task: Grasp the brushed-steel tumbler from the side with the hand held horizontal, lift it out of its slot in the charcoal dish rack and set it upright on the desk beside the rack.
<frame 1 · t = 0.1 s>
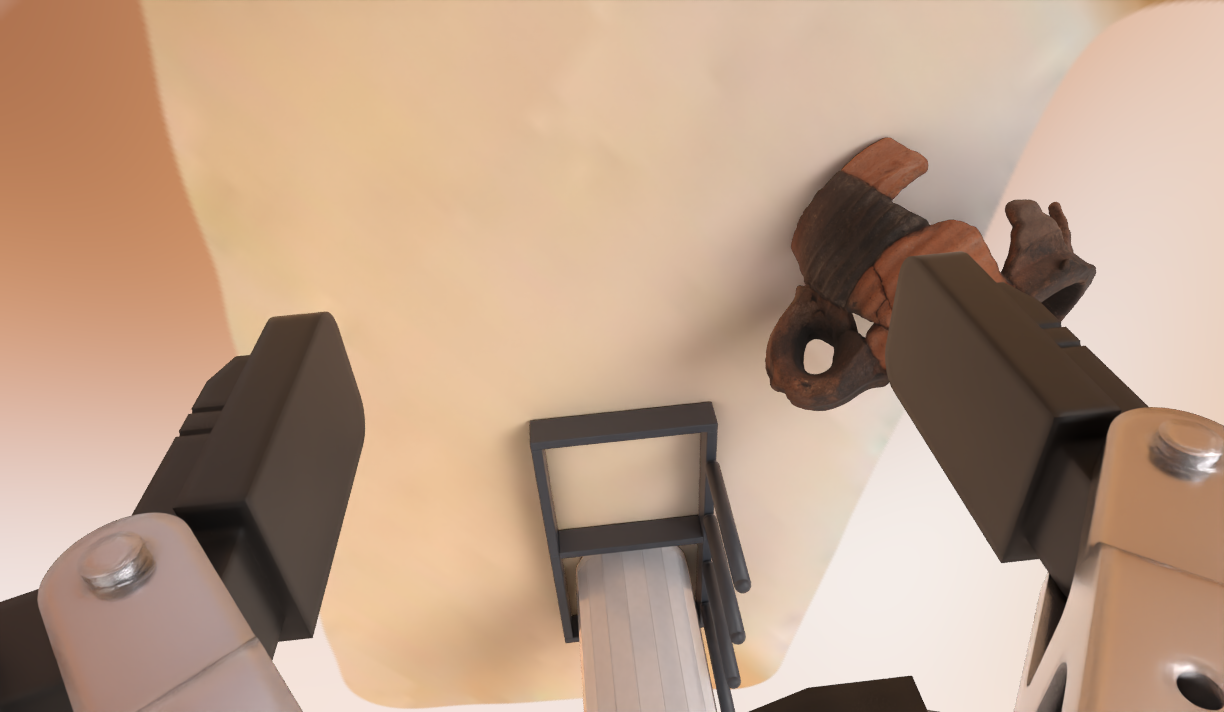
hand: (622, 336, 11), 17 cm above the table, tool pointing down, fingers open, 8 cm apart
dish rack: (628, 525, 41), on the table
tumbler: (631, 569, 44), resting in dish rack
pottery mug: (876, 250, 32), on the table
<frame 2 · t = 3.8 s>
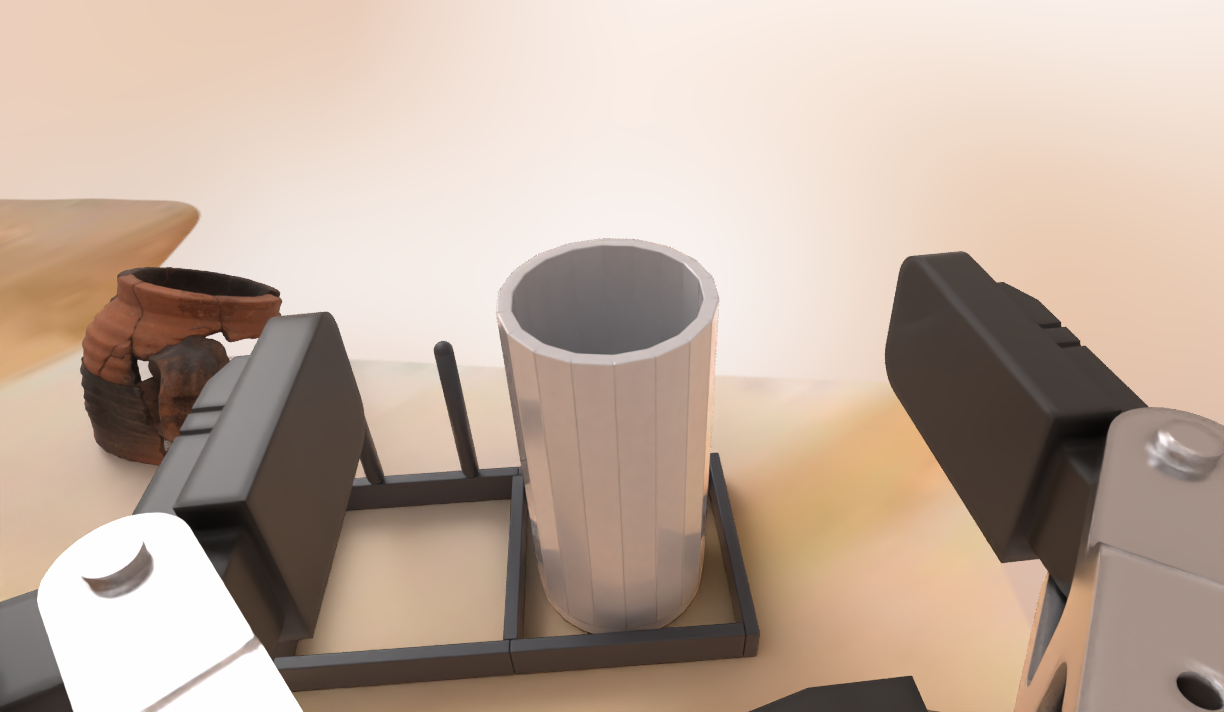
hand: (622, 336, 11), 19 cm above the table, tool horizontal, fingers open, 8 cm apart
dish rack: (519, 572, 30), on the table
tumbler: (621, 564, 30), resting in dish rack
pottery mug: (210, 413, 39), on the table
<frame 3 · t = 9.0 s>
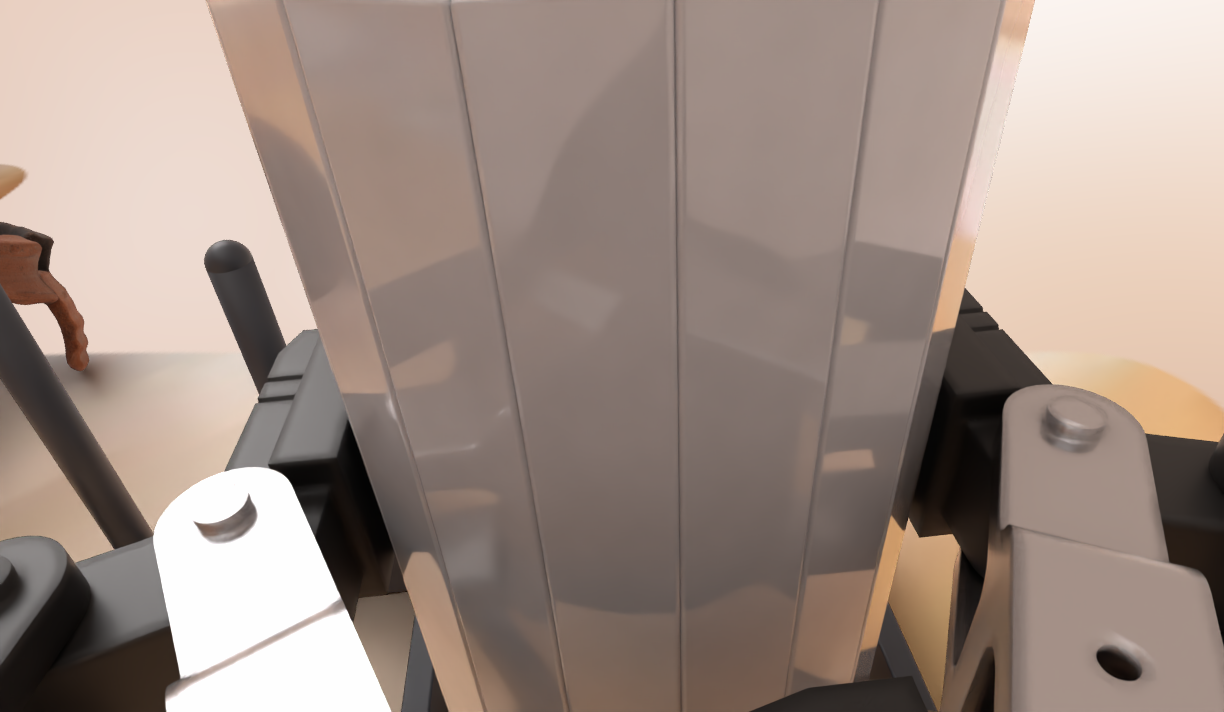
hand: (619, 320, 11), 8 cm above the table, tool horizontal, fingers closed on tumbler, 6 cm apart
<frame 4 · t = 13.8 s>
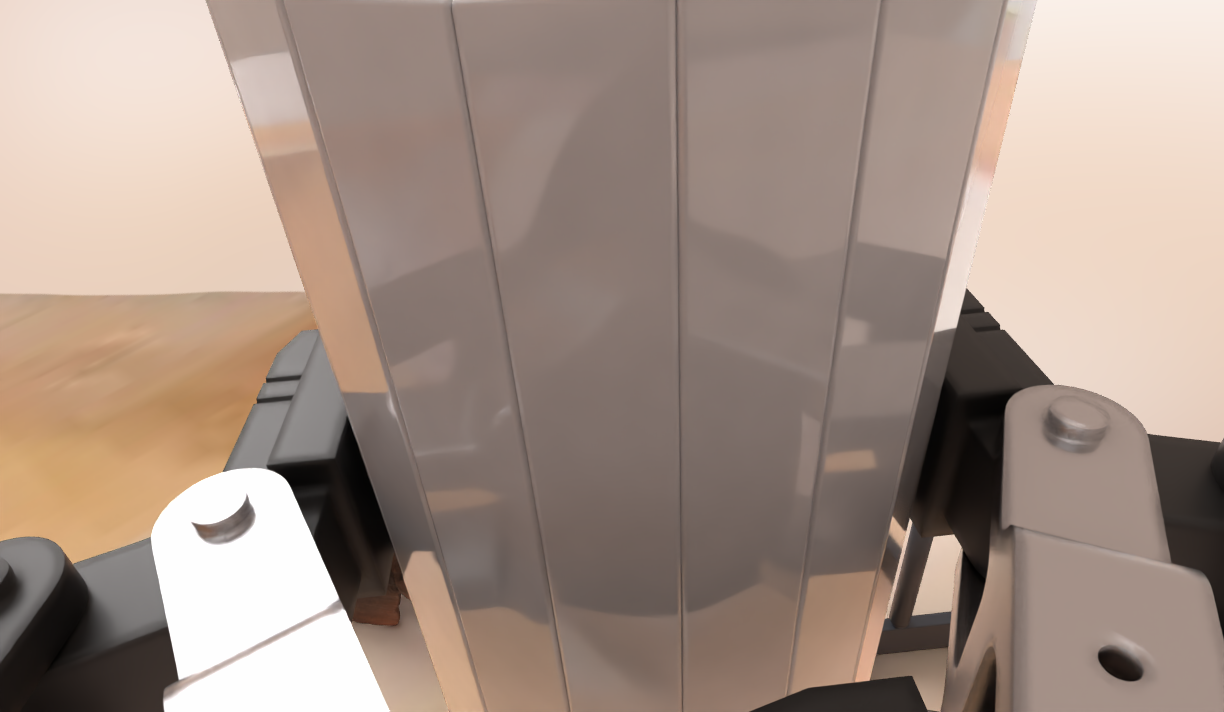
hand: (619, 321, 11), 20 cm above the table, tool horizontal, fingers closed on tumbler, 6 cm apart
pottery mug: (428, 554, 34), on the table
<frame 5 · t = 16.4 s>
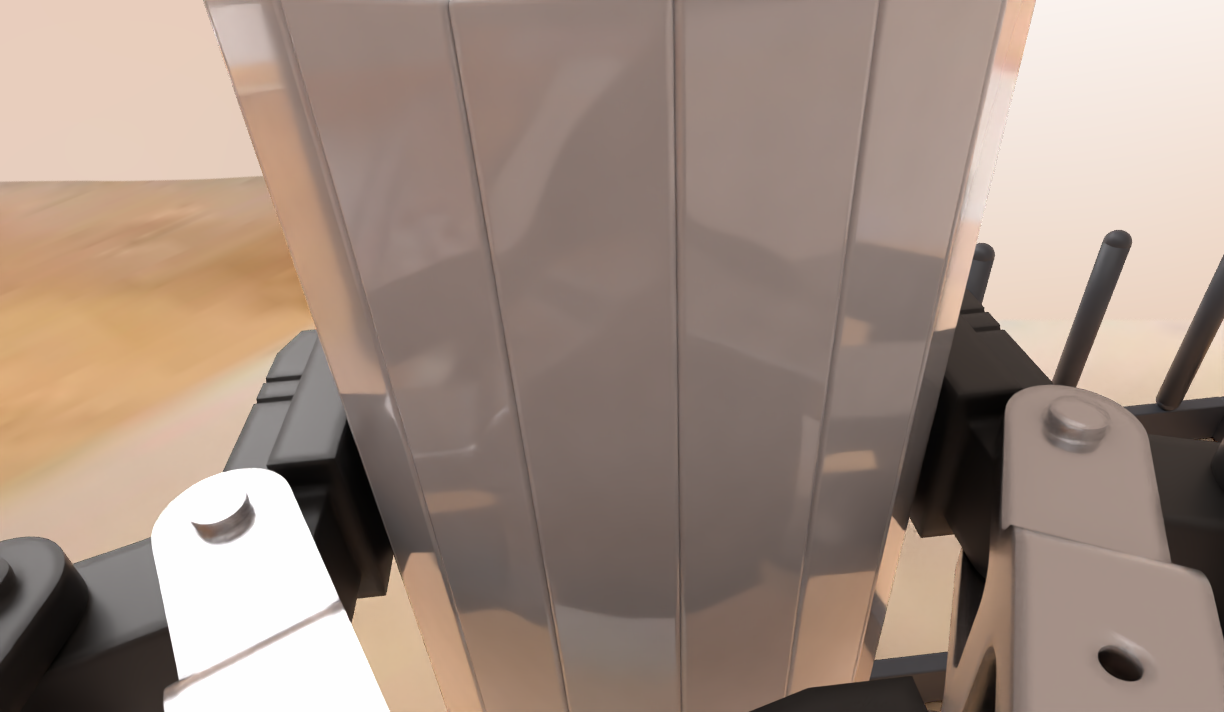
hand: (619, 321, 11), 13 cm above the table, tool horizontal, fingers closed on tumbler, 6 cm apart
dish rack: (1046, 548, 23), on the table
when the fingers open (8 cm above the table, at t = 18.5 s): tumbler stays where it is, on the table.
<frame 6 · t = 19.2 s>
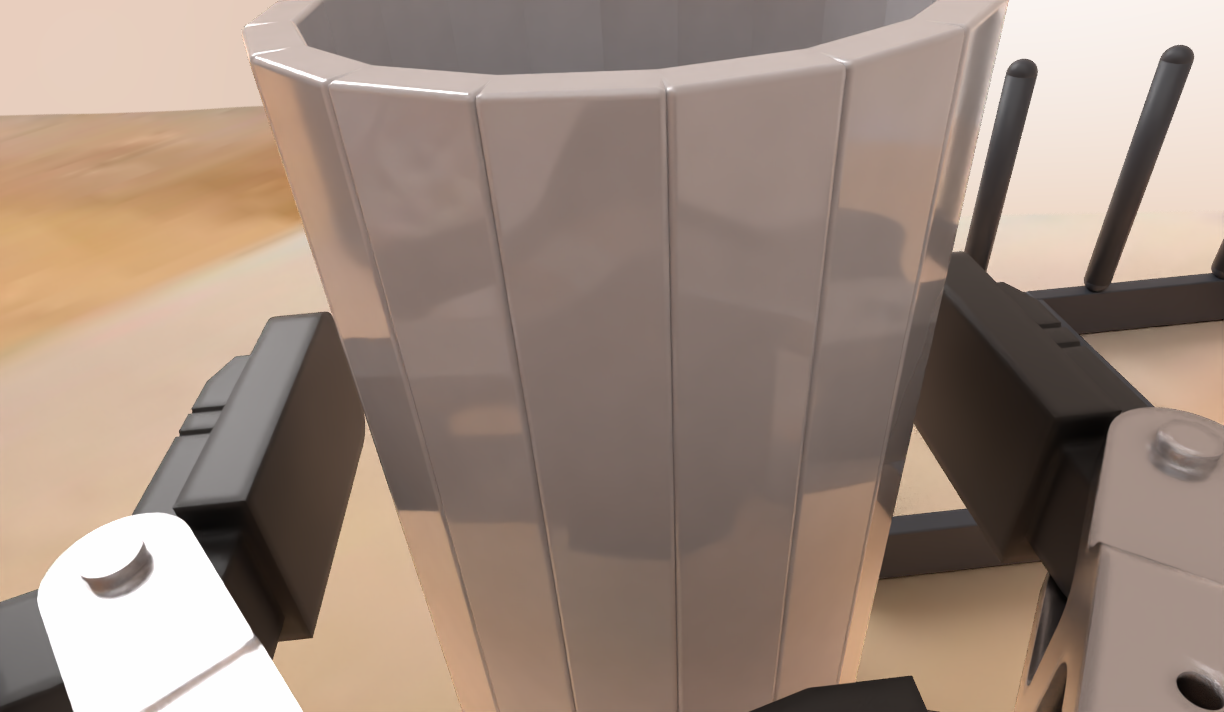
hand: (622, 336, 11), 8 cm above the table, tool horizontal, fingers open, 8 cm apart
dish rack: (1094, 419, 21), on the table
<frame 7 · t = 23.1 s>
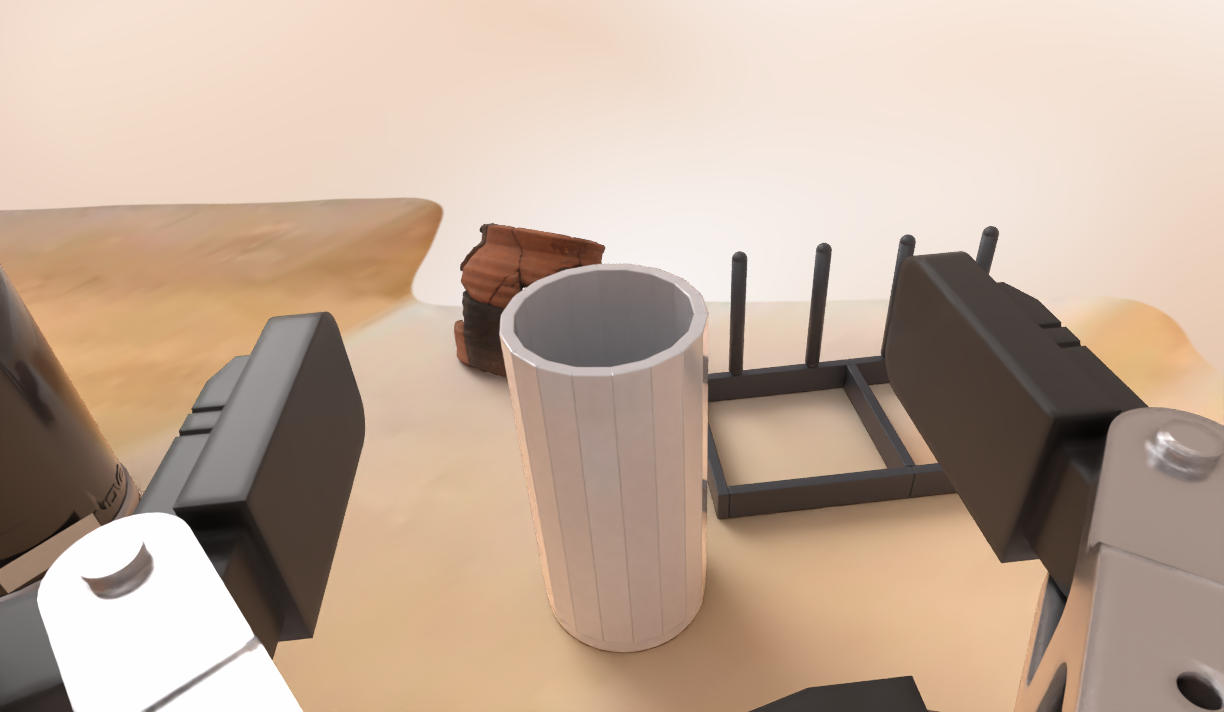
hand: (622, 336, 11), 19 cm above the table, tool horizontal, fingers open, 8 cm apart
dish rack: (874, 434, 37), on the table
tumbler: (626, 582, 31), on the table
pottery mug: (544, 345, 46), on the table
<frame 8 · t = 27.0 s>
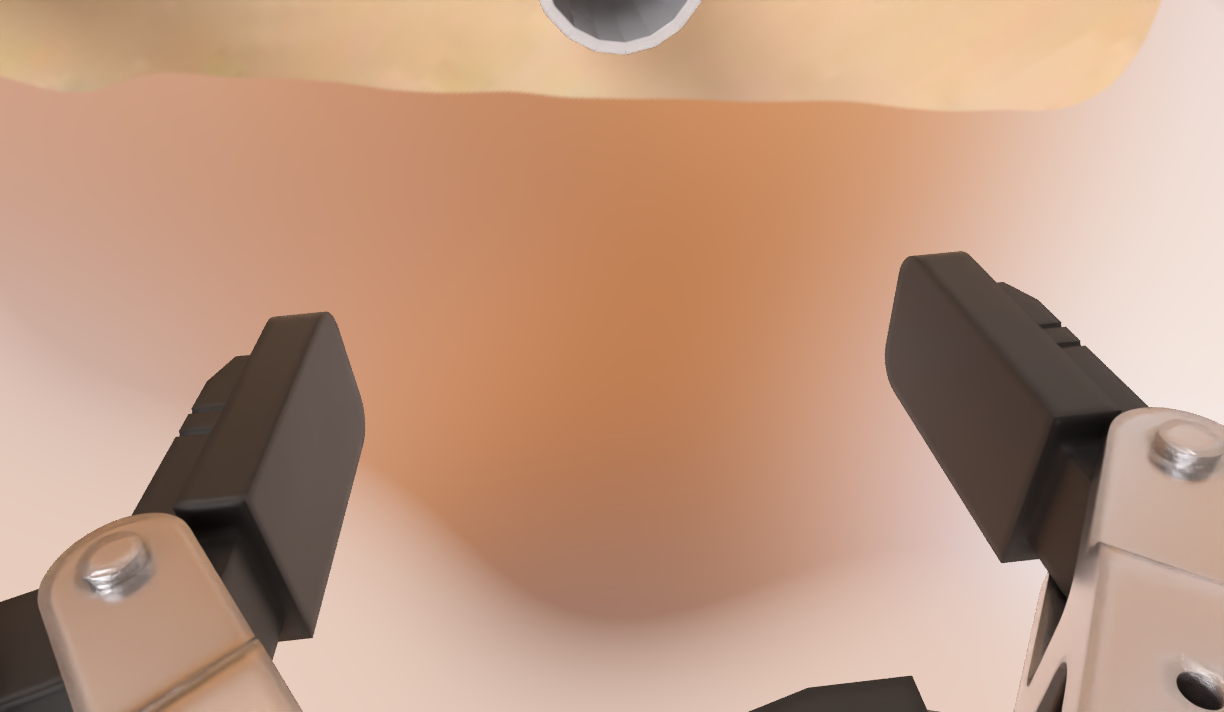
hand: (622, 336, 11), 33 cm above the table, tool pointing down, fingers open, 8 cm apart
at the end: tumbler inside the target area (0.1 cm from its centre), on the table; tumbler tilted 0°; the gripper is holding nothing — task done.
